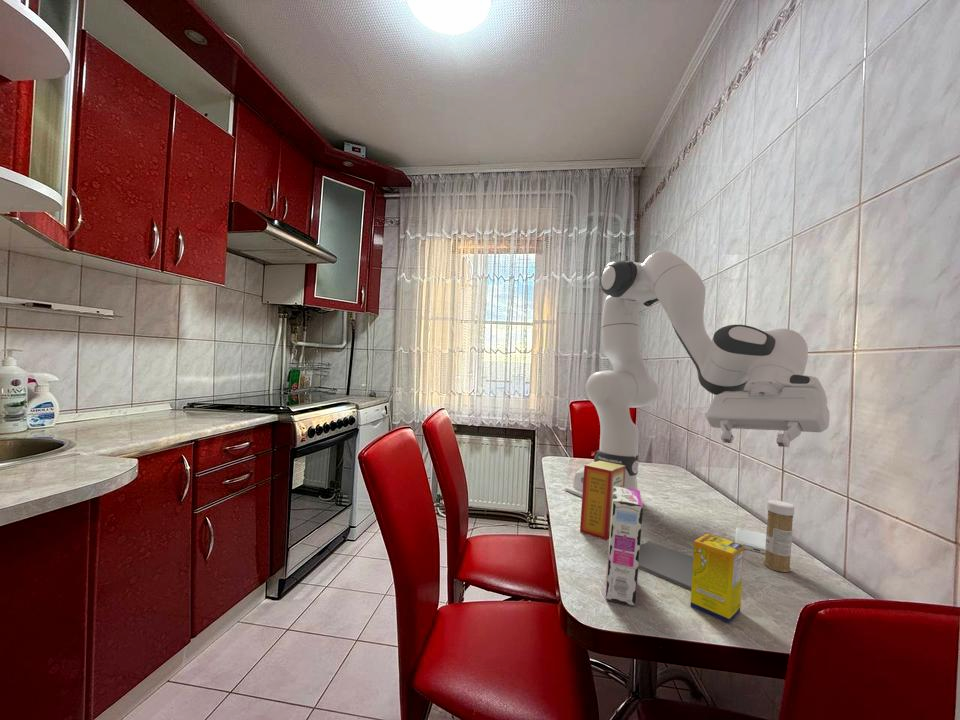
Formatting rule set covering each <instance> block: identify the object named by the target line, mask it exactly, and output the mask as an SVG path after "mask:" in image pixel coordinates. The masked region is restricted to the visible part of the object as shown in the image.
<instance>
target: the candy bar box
mask: <svg viewBox="0 0 960 720" xmlns="http://www.w3.org/2000/svg"><path fill="white" fill-rule="evenodd" d="M643 512H644V504H643V501H642V496H641V492H640V490H639V489H638V490H635V489H630V488H623V487H616V486H614V488H613V498H612V510H611V522H610V535H609V539H608V550H607V561H606V562H607V563H606V564H607V565H606V581H605V586H606V587H605V600H607V601H611V602H615V603H619V604H623V605H625V606H630V607H636V601H637V590H638V589H637V588H638V578H639V576H638V575H639V568H638V566H639V553H640V545H641V539H642V526H643V525H642V524H643V514H644V513H643Z"/></svg>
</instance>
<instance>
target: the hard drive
mask: <svg viewBox="0 0 960 720" xmlns="http://www.w3.org/2000/svg"><path fill="white" fill-rule="evenodd" d="M734 539H735V540H734V542H736V543H740V544H743V545H744V550H747V551H751V550H752V552H755V551H756V552H755V553H759V552H760V554H763V553H765V551H766V548H765V545H766V533H764V532H759V531H755V530H749V529H745V528H741V527H735V538H734Z"/></svg>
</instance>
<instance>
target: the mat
mask: <svg viewBox="0 0 960 720" xmlns="http://www.w3.org/2000/svg"><path fill="white" fill-rule="evenodd" d="M638 569H640V570H642V571H645V572H647V573H650V574H652V575H654V576H656V577H659V578H661V579H662V580H663V579H664V580H666V581H668V582H671V583H673V584H675V585H678V586H679V587H682V588H684V589H686V590H689V591H691V587H692V569H693V556H692V555H689V554H686V553H684V552H681V551H678V550H675V549H674V548H673V549H672V548H669V547H667V546H664V545H662V544H658V543H656V542H653V541H651V540H648V541H646V542H644V543H642V544H640V553H639V566H638Z"/></svg>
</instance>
